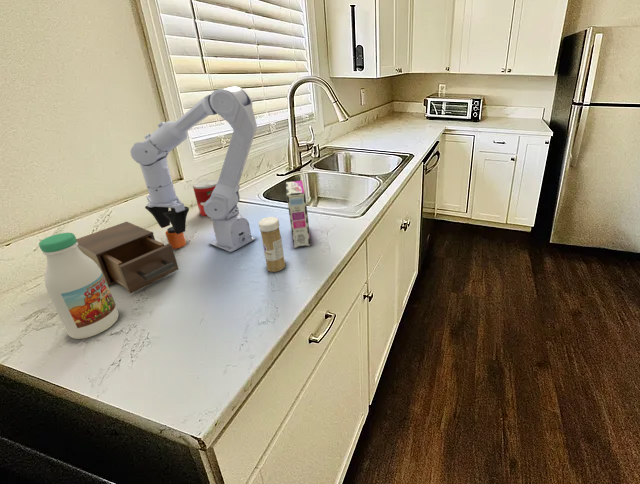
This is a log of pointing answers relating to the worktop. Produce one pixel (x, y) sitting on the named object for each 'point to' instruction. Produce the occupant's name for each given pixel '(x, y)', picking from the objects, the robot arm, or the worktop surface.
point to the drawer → (140, 263)
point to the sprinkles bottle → (272, 243)
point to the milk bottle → (77, 288)
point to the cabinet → (110, 242)
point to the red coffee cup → (203, 192)
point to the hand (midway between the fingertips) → (173, 229)
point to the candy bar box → (298, 213)
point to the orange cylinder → (175, 238)
